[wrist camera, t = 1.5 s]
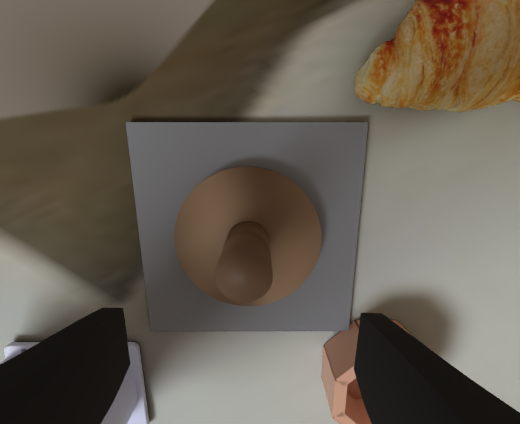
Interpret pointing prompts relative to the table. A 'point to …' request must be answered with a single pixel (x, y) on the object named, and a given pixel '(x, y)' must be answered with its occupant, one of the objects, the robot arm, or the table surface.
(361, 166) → the mat
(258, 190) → the lid
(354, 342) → the bowl
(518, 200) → the table surface
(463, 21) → the croissant
